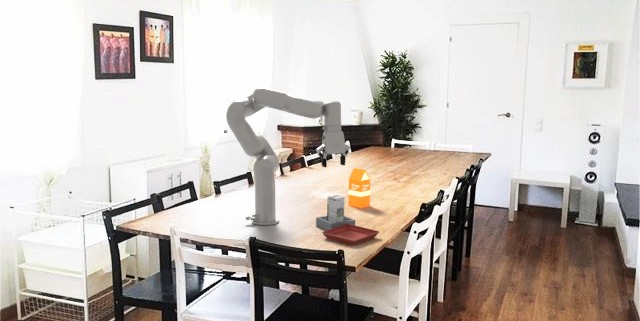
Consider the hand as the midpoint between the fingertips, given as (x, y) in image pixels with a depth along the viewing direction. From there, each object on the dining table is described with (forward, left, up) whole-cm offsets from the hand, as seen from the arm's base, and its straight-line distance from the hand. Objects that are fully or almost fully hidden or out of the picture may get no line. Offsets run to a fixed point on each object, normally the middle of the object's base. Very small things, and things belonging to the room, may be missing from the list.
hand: (333, 165), depth 248 cm
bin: (-1, -3, -28) cm, 28 cm away
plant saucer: (-5, -21, -29) cm, 36 cm away
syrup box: (-1, -3, -28) cm, 28 cm away
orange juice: (+34, +27, -28) cm, 52 cm away
